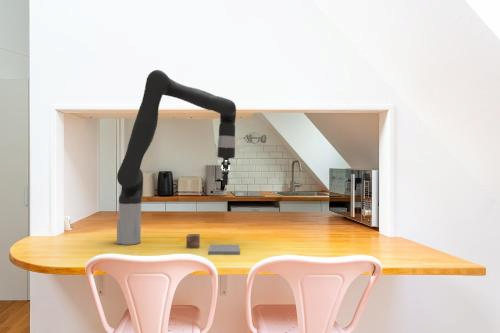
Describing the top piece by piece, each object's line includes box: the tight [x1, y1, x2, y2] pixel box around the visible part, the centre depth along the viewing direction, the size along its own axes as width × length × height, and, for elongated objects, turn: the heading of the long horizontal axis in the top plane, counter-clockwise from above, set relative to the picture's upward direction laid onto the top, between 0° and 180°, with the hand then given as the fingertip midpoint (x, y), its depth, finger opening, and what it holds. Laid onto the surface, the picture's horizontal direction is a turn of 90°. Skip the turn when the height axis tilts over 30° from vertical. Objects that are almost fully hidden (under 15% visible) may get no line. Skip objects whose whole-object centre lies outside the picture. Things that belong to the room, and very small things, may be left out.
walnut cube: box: [185, 233, 201, 249], centre depth 160 cm, size 5×5×5 cm
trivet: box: [208, 244, 241, 255], centre depth 154 cm, size 12×12×1 cm
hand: (225, 184), depth 167 cm, fingers open, 8 cm apart
